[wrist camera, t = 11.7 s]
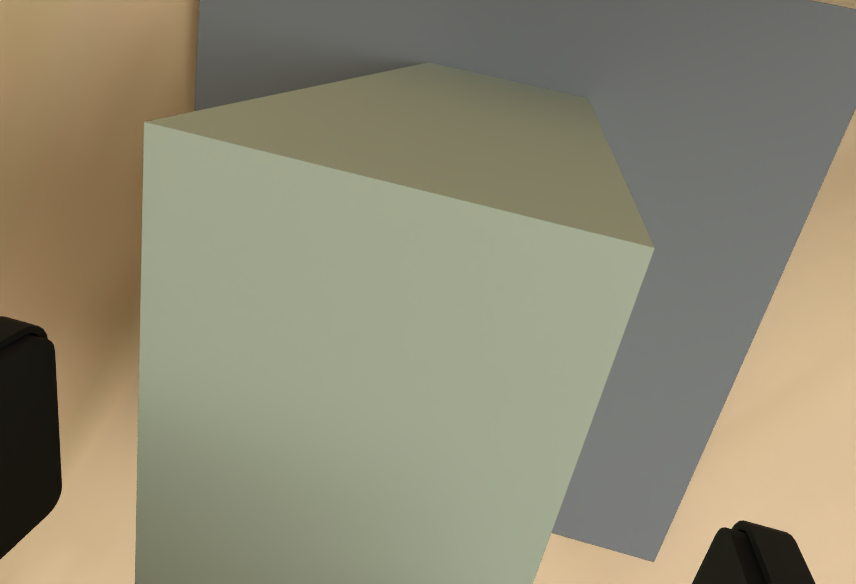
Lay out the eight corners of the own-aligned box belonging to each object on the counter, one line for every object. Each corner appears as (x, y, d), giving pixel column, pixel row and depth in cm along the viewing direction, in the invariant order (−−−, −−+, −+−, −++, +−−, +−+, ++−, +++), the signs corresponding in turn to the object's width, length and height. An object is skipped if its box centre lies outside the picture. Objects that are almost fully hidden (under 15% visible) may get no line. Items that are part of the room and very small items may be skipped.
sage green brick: (588, 98, 16) (654, 249, 5) (491, 432, 20) (404, 938, 9) (429, 62, 16) (145, 121, 5) (366, 397, 20) (130, 837, 9)
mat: (885, 17, 14) (896, 16, 14) (651, 550, 21) (653, 562, 20) (214, -113, 16) (204, -117, 15) (189, 419, 22) (181, 426, 22)
